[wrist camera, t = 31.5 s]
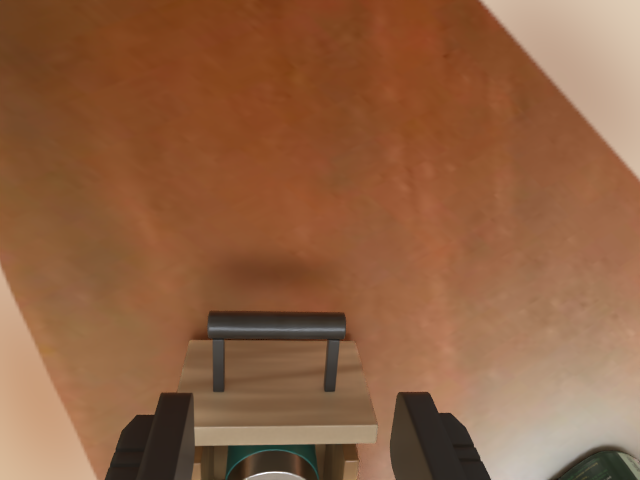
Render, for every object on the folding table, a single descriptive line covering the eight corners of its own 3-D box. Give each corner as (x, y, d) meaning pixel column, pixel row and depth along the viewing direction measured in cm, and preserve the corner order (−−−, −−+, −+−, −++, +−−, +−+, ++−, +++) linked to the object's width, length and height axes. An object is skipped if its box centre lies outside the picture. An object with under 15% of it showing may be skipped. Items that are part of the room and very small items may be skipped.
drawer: (187, 270, 31) (163, 344, 24) (362, 274, 33) (389, 346, 25) (194, 501, 38) (177, 613, 31) (338, 498, 39) (354, 604, 32)
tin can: (230, 390, 34) (222, 472, 27) (314, 390, 34) (324, 470, 28) (230, 455, 36) (222, 545, 29) (309, 454, 36) (318, 542, 30)
